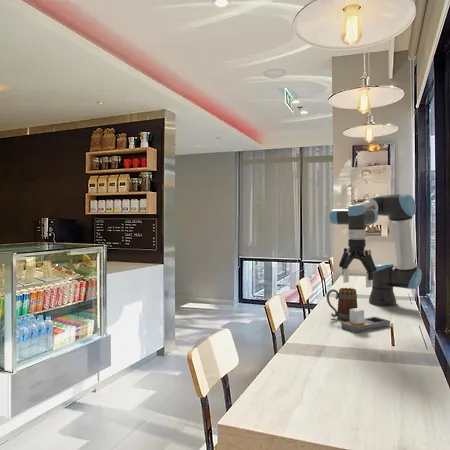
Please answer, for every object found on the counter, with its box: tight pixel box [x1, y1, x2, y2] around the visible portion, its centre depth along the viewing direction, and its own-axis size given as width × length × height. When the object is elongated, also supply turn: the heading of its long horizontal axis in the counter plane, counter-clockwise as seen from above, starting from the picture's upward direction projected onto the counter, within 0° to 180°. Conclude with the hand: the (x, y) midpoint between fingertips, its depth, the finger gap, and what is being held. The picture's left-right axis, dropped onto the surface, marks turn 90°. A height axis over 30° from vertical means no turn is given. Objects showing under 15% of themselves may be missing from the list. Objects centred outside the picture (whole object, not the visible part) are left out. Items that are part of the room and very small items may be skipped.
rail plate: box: [341, 316, 391, 334], centre depth 188 cm, size 22×9×3 cm, turn 119°
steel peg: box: [350, 307, 365, 326], centre depth 185 cm, size 4×4×9 cm
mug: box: [326, 287, 358, 322], centre depth 203 cm, size 16×11×15 cm
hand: (357, 284), depth 185 cm, fingers open, 13 cm apart
